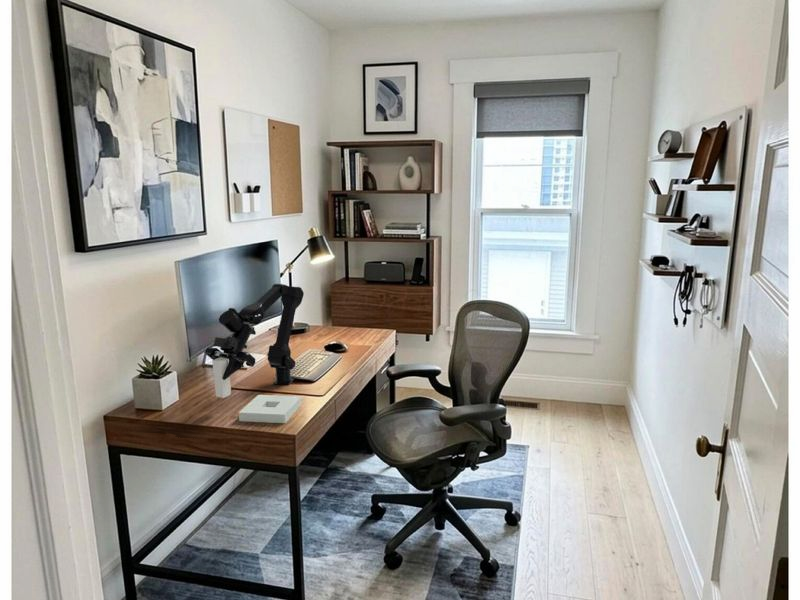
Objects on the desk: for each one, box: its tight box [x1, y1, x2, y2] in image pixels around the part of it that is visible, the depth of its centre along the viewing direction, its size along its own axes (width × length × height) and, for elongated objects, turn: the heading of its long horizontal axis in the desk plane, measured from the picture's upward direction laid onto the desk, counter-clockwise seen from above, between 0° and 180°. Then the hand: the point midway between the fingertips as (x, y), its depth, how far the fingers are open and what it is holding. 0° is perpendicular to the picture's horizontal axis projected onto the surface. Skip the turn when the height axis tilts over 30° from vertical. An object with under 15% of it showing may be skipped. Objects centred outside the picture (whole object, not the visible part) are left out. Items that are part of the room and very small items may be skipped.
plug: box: [211, 357, 232, 399], centre depth 183 cm, size 4×4×13 cm
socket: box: [238, 394, 302, 424], centre depth 183 cm, size 16×16×3 cm
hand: (219, 378), depth 181 cm, fingers closed on plug, 4 cm apart
